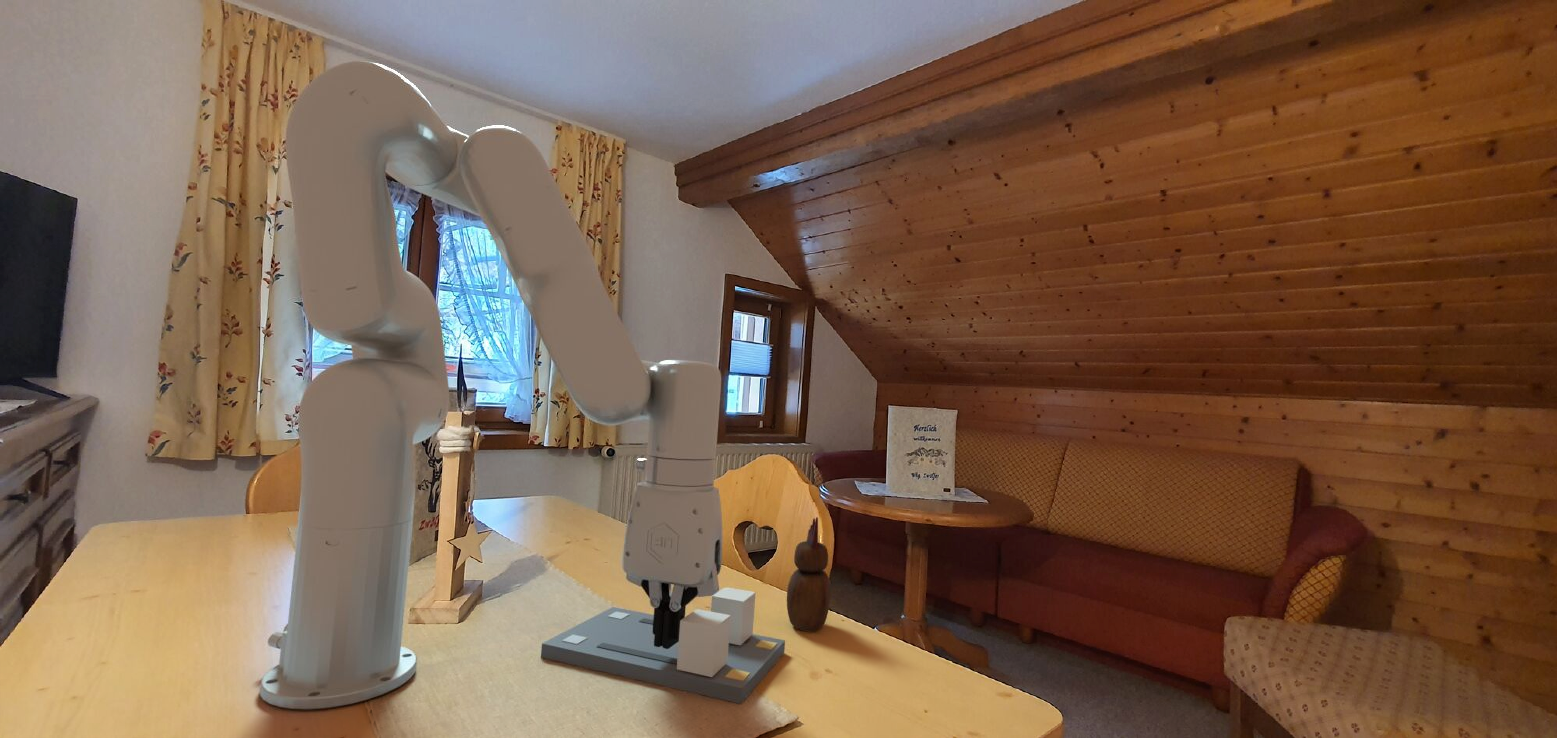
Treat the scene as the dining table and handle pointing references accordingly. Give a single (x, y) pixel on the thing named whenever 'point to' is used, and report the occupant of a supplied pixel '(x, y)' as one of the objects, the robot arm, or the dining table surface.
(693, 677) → the switch panel
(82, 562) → the dining table surface
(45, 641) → the dining table surface
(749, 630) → the tab far
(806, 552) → the wooden figurine
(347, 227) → the robot arm
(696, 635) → the tab near
